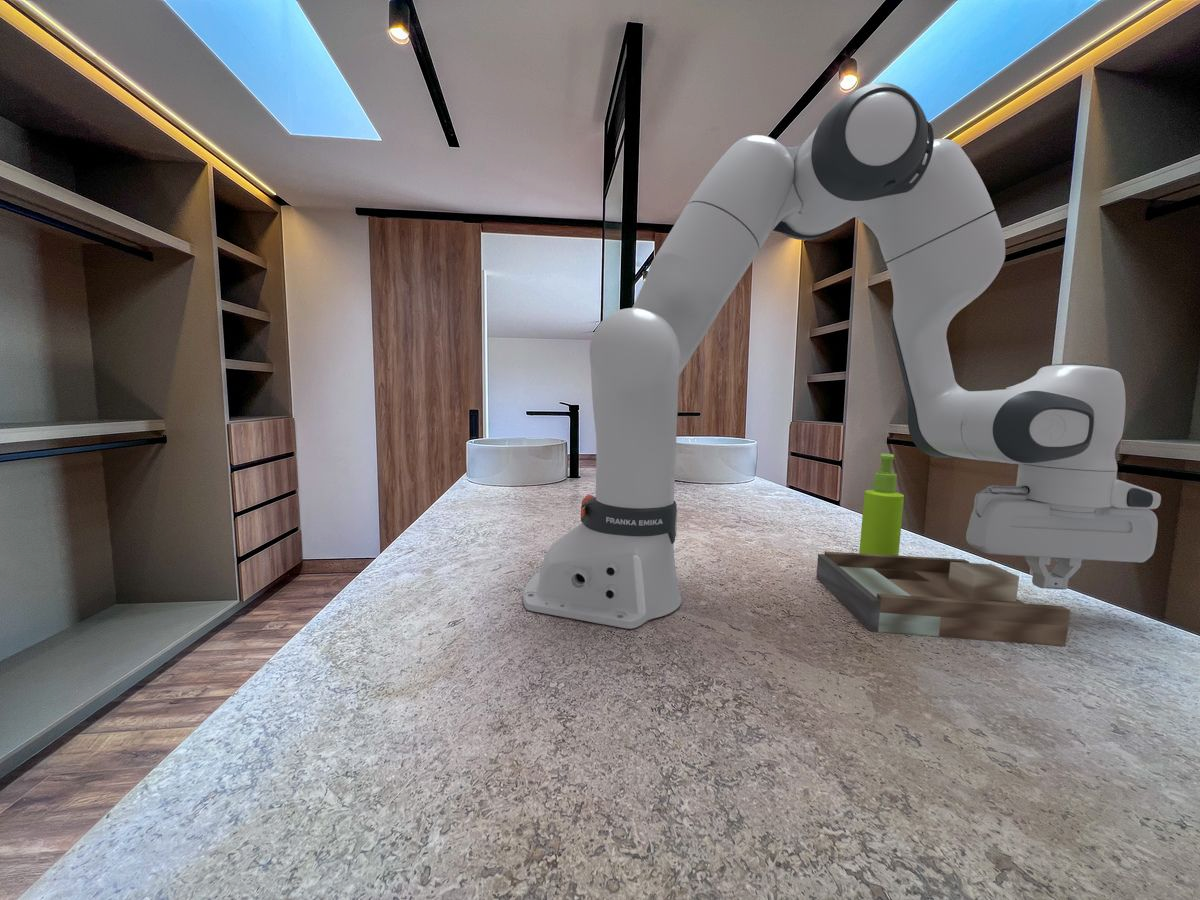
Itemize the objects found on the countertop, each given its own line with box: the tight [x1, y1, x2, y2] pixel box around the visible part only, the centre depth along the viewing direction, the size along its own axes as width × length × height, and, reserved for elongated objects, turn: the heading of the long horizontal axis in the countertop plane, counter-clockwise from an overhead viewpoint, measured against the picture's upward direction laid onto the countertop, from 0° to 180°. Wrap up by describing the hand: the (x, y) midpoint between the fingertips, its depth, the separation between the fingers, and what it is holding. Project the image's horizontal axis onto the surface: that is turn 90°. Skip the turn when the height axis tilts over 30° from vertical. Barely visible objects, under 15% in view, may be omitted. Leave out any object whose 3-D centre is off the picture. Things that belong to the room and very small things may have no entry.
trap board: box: [815, 551, 1071, 647], centre depth 60 cm, size 22×17×4 cm
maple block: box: [948, 562, 1020, 602], centre depth 59 cm, size 6×4×4 cm
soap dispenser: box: [858, 453, 905, 556], centre depth 76 cm, size 6×7×20 cm
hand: (1048, 587), depth 58 cm, fingers closed
